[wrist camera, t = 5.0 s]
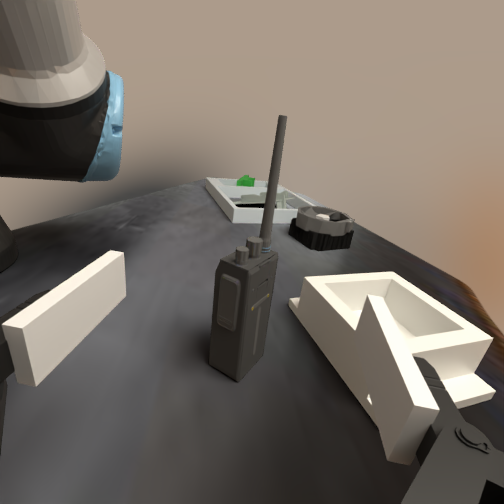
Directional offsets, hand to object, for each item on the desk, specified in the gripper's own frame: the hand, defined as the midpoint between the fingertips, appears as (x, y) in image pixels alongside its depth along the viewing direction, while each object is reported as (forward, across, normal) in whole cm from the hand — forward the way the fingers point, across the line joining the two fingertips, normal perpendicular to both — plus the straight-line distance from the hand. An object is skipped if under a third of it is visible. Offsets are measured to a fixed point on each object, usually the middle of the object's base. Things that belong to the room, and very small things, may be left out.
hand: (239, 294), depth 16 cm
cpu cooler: (+41, +10, -11) cm, 44 cm away
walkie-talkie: (+7, 0, -11) cm, 13 cm away
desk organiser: (+61, -5, -11) cm, 62 cm away
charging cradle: (+12, +13, -11) cm, 21 cm away
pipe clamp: (+70, -9, -11) cm, 72 cm away
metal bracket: (+58, -3, -12) cm, 60 cm away
